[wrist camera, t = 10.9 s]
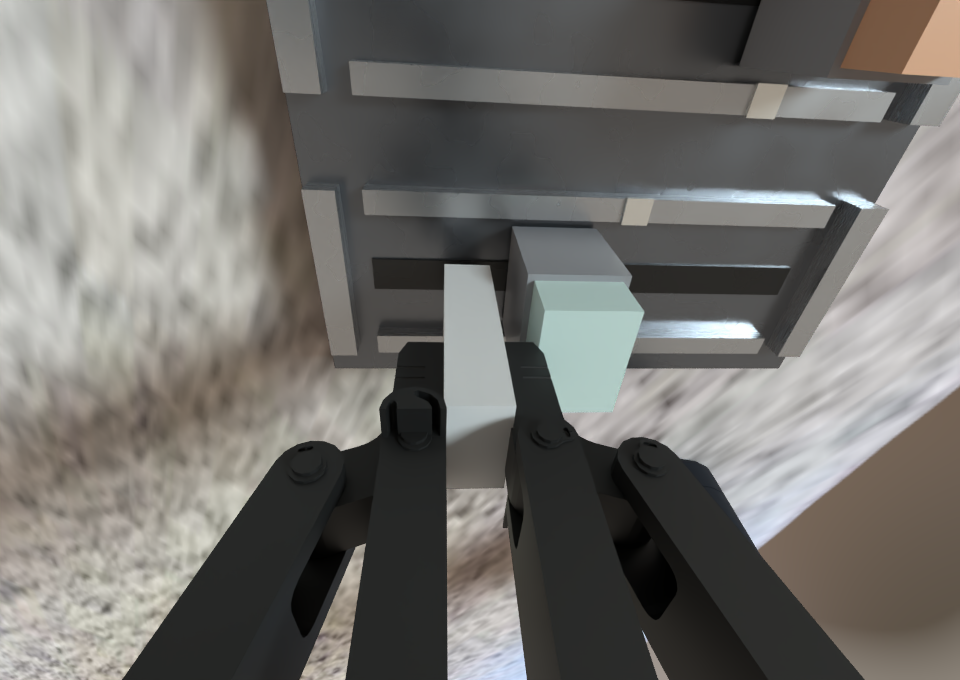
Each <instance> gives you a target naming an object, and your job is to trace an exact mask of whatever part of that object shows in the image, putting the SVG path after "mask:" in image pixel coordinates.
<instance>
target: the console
mask: <svg viewBox="0 0 960 680" xmlns="http://www.w3.org/2000/svg"><path fill="white" fill-rule="evenodd" d="M266 2H267V7H268V13H269V18H270V23H271V29H272V34H273V40H274V45H275V51H276V56H277V62H278V67H279V73H280V78H281V83H282V89H283V93H285V95H286V100H287V106H288V111H289V117H290V122H291V128H292V133H293V139H294V144H295V150H296V155H297V161H298V166H299V172H300V177H301V183H302V189H301V192H302V198H303V203H304V209H305V214H306V220H307V225H308V231H309V236H310V241H311V247H312V252H313V258H314V263H315V269H316V274H317V280H318V285H319V290H320V296H321V301H322V307H323V312H324V318H325V323H326V329H327V334H328V340H329V345H330V350H331V355H333V360H334V365H335V368H397V361H398V354H399V352H400V351H401V349H402V348H403V347H404V346H405V345H406V343H407V342H443V319H444V264H459V265H490V269H491V275H492V280H493V285H494V290H495V296H496V301H497V306H498V311H499V317H500V322H501V327H502V333H503V338H504V342H506V338H505V333H504V328H503V313H504V303H505V293H506V283H507V273H508V263H509V253H510V243H511V233H512V226H518V227H553V228H589V229H597V230H598V231H599V233H600V234H601V235H602V237H603V238H604V239H605V241H606V242H607V243H608V244H609V246H610V247H611V248H612V250H613V251H614V252H615V254H616V255H617V256H618V258H619V259H620V260H621V262H622V263H623V264H624V266H625V267H626V268H627V270H628V271H629V272H630V274H631V275H632V279H631V282H630V286H629V290H630V292H631V293H632V295H633V296H634V297H635V299H636V300H637V302H638V303H639V305H640V306H641V307H642V309H643V310H644V315H643V318H642V321H641V324H640V327H639V330H638V333H637V337H636V340H635V343H634V346H633V349H632V352H631V355H630V358H629V361H628V365H627V368H779V367H780V365H781V363H782V362H783V360H784V358H785V357H800V355H801V353H802V352H803V350H804V348H805V347H806V345H807V343H808V342H809V340H810V339H811V337H812V335H813V334H814V332H815V330H816V329H817V327H818V325H819V324H820V322H821V320H822V319H823V317H824V315H825V314H826V312H827V311H828V309H829V307H830V306H831V304H832V302H833V301H834V299H835V297H836V296H837V294H838V292H839V291H840V289H841V287H842V286H843V284H844V283H845V281H846V279H847V278H848V276H849V274H850V273H851V271H852V269H853V268H854V266H855V264H856V263H857V261H858V259H859V258H860V256H861V255H862V253H863V251H864V250H865V248H866V246H867V245H868V243H869V241H870V240H871V238H872V236H873V235H874V233H875V232H876V230H877V228H878V227H879V225H880V223H881V222H882V220H883V218H884V217H885V215H886V213H887V212H888V210H889V209H886V208H884V207H882V206H879V205H877V204H875V202H876V200H877V199H878V197H879V195H880V194H881V192H882V190H883V188H884V187H885V185H886V183H887V182H888V180H889V178H890V176H891V175H892V173H893V171H894V170H895V168H896V166H897V164H898V163H899V161H900V159H901V158H902V156H903V154H904V152H905V151H906V149H907V147H908V146H909V144H910V142H911V140H912V139H913V137H914V135H915V134H916V132H917V130H918V128H919V127H920V125H923V126H940V124H941V123H942V121H943V120H944V118H945V116H946V115H947V113H948V111H949V110H950V108H951V106H952V105H953V103H954V101H955V100H956V98H957V97H958V95H959V93H960V78H956V77H953V78H952V80H951V82H950V83H949V85H935V84H919V83H902V82H886V81H869V80H853V79H836V78H823V77H816V76H808V75H800V74H793V73H785V72H777V71H769V70H762V69H754V68H746V67H739V64H740V61H741V58H742V55H743V53H744V50H745V47H746V44H747V41H748V38H749V35H750V32H751V29H752V26H753V23H754V20H755V17H756V14H757V11H758V8H759V5H760V2H761V0H266Z"/></svg>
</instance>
